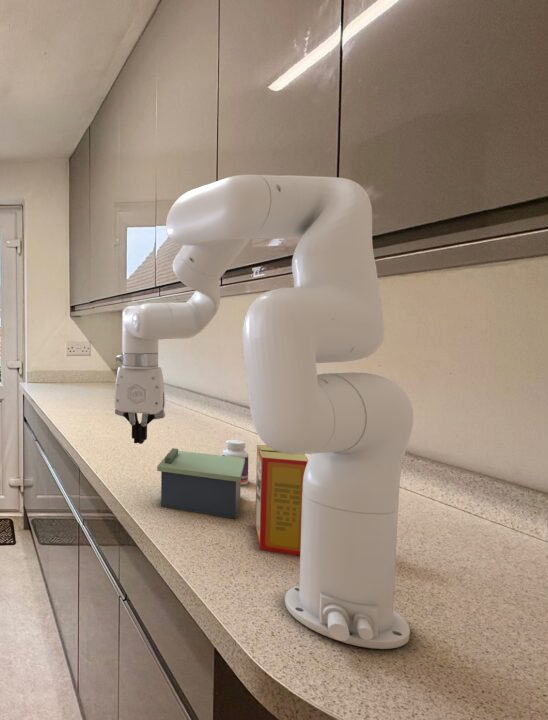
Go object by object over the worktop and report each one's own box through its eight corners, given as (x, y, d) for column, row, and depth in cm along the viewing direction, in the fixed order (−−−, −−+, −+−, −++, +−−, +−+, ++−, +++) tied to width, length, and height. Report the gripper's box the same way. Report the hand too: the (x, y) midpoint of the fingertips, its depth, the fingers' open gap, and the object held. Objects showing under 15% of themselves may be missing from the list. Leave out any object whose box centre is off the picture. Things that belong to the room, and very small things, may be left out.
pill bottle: (244, 479, 119) (244, 439, 118) (251, 486, 114) (252, 444, 113) (219, 477, 120) (220, 438, 120) (225, 484, 115) (226, 443, 115)
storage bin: (235, 519, 95) (236, 480, 95) (161, 506, 103) (161, 470, 102) (240, 497, 107) (241, 463, 106) (173, 487, 114) (173, 455, 114)
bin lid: (240, 482, 94) (240, 470, 94) (157, 470, 102) (157, 460, 102) (244, 462, 107) (245, 452, 106) (170, 454, 115) (170, 444, 114)
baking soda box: (306, 556, 80) (309, 459, 79) (260, 549, 83) (262, 455, 82) (297, 534, 88) (300, 445, 87) (255, 528, 91) (257, 442, 90)
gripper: (101, 361, 110) (101, 442, 112) (172, 363, 102) (171, 450, 104) (111, 359, 117) (110, 435, 118) (179, 360, 109) (177, 442, 110)
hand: (139, 442), depth 111 cm, fingers closed
